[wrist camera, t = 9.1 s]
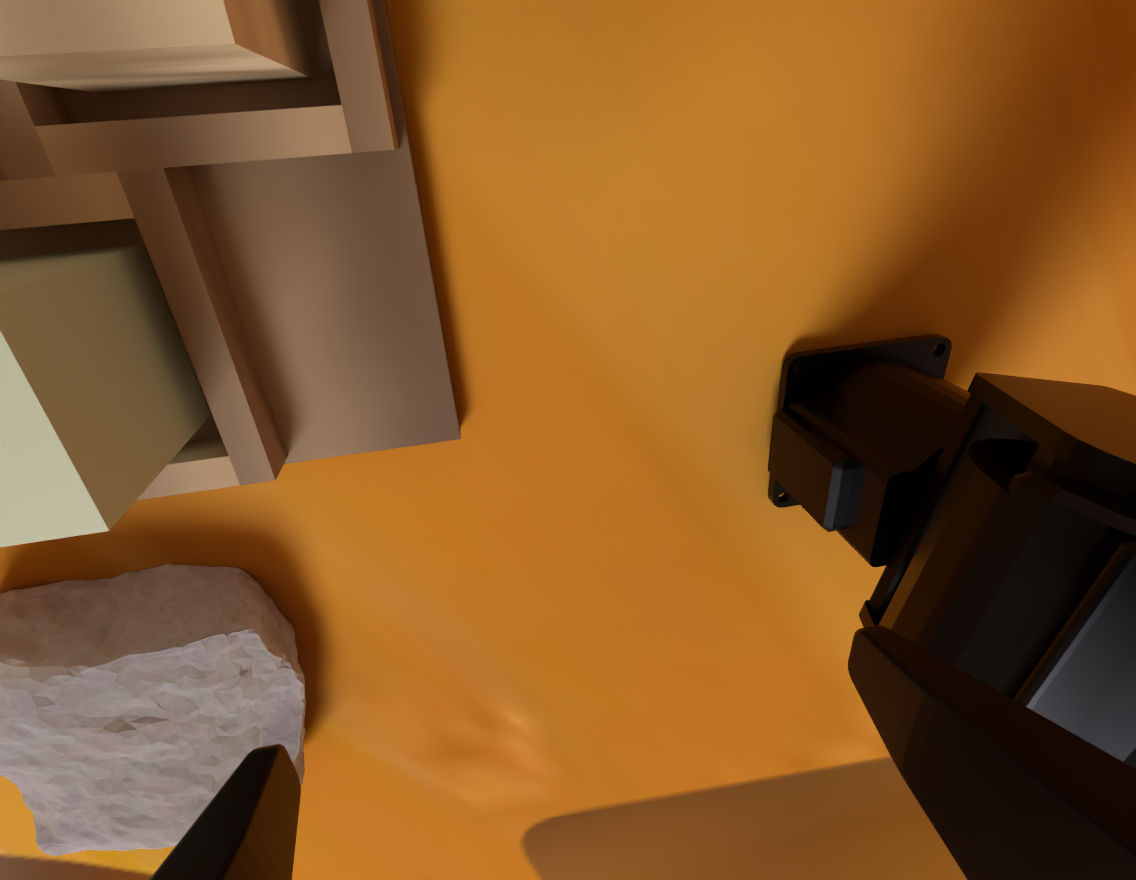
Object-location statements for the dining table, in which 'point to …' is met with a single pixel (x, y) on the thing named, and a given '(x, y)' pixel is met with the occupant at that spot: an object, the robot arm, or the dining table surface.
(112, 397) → the sage block
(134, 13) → the oak block
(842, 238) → the dining table surface
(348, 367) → the walnut base board
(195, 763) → the stone block
